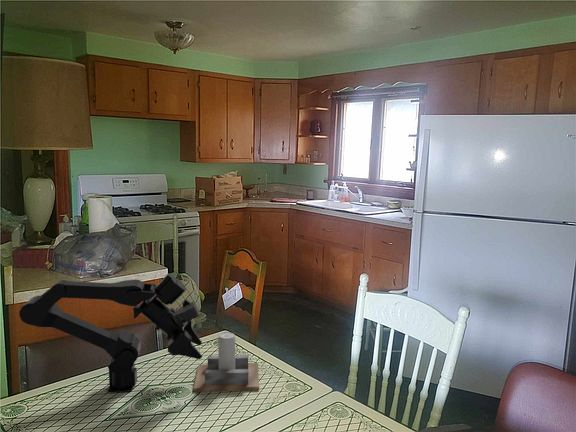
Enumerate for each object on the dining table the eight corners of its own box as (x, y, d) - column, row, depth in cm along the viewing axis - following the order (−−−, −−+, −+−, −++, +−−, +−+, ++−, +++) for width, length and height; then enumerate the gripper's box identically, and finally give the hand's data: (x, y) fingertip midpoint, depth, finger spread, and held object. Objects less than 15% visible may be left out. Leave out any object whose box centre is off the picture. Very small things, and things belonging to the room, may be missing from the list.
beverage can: (226, 380, 132) (226, 340, 130) (215, 374, 135) (214, 335, 133) (238, 373, 136) (238, 334, 134) (226, 368, 139) (226, 330, 137)
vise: (193, 391, 128) (193, 376, 127) (199, 365, 143) (198, 351, 142) (259, 390, 129) (259, 374, 129) (257, 364, 144) (257, 350, 144)
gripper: (180, 306, 120) (223, 344, 124) (182, 285, 138) (219, 318, 142) (149, 336, 120) (193, 374, 123) (155, 311, 138) (193, 344, 141)
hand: (201, 350), depth 133 cm, fingers open, 9 cm apart
